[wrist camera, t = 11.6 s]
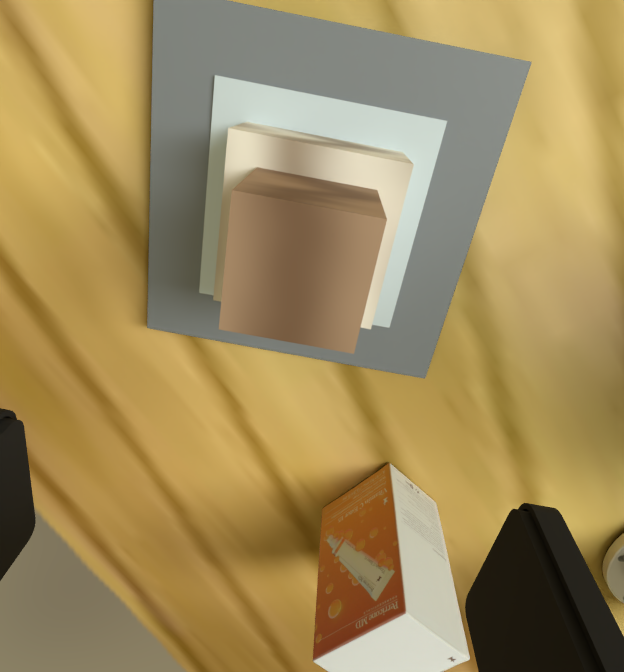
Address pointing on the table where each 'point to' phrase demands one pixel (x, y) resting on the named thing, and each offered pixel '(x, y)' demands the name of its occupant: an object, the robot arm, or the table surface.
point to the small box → (385, 582)
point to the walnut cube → (300, 259)
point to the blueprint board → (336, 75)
